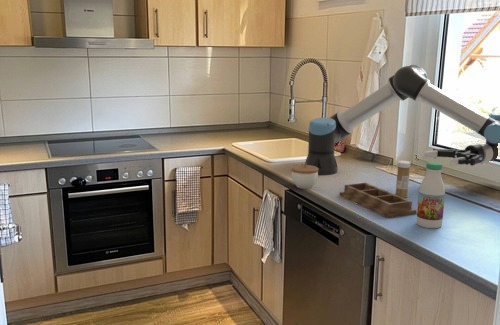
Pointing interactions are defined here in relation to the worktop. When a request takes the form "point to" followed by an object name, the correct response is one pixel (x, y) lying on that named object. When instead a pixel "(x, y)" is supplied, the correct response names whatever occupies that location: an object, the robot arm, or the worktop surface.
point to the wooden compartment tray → (378, 200)
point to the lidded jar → (304, 175)
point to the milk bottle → (431, 197)
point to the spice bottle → (402, 178)
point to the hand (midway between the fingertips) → (436, 158)
